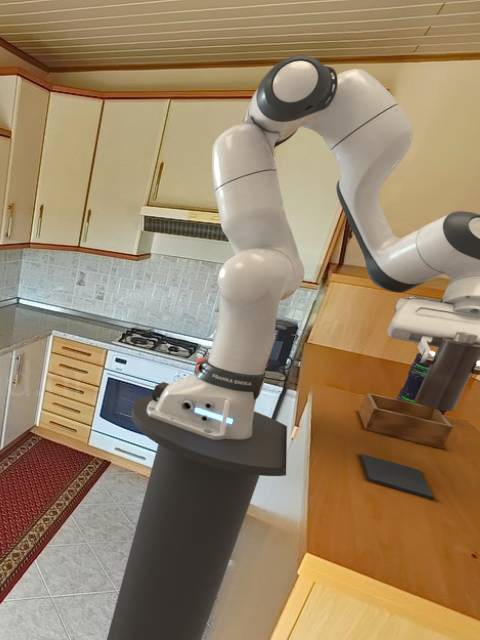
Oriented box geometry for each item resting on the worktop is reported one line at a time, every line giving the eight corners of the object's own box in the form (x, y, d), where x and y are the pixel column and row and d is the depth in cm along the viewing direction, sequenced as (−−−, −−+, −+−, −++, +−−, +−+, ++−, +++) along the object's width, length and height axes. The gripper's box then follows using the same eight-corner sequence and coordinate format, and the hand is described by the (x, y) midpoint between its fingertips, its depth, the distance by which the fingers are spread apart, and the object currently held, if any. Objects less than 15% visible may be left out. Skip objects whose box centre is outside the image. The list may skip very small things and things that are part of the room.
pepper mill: (406, 399, 87) (438, 328, 83) (429, 399, 89) (461, 330, 84) (438, 411, 83) (473, 337, 78) (461, 411, 84) (497, 338, 79)
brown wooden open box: (365, 429, 112) (374, 408, 110) (358, 411, 123) (366, 392, 121) (442, 449, 105) (453, 426, 103) (427, 428, 116) (437, 408, 114)
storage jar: (403, 417, 122) (429, 360, 117) (384, 403, 131) (408, 350, 126) (451, 425, 120) (479, 368, 114) (428, 411, 129) (454, 357, 123)
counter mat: (368, 480, 88) (369, 477, 88) (360, 456, 97) (361, 453, 97) (432, 499, 83) (434, 496, 83) (417, 472, 93) (419, 469, 93)
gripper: (404, 283, 90) (380, 341, 87) (568, 305, 78) (547, 374, 74) (395, 304, 95) (372, 360, 91) (548, 329, 82) (528, 395, 79)
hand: (452, 367), depth 83 cm, fingers closed on pepper mill, 5 cm apart
